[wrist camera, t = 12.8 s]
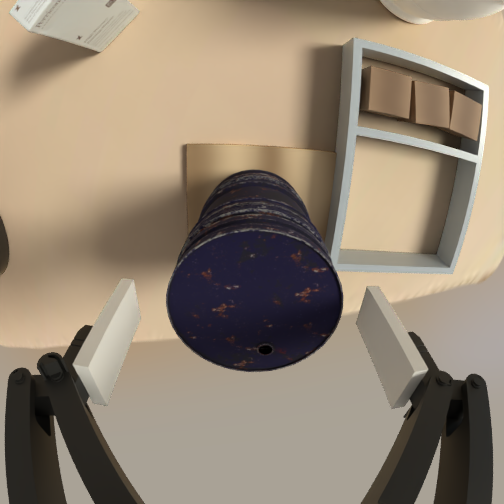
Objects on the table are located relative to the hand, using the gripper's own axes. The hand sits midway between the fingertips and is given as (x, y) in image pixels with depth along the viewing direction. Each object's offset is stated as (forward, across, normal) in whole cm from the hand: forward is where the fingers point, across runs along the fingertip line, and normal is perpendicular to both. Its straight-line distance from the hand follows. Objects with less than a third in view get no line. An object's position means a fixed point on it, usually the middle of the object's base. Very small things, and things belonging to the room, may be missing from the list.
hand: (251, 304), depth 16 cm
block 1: (+15, +12, +13) cm, 23 cm away
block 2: (+15, +16, +13) cm, 25 cm away
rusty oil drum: (+14, +1, 0) cm, 15 cm away
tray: (+15, +16, +7) cm, 23 cm away
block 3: (+15, +20, +13) cm, 28 cm away
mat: (+15, +1, 0) cm, 15 cm away
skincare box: (+16, -15, +21) cm, 30 cm away
